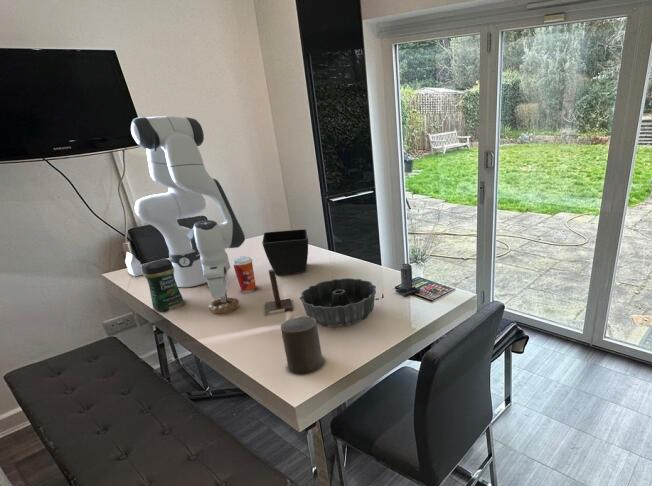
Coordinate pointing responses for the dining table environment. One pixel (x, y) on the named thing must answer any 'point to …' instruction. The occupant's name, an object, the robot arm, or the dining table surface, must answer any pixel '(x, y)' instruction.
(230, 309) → the ring
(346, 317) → the bundt pan
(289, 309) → the post
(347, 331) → the dining table surface
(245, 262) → the paper cup
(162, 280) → the coffee jar
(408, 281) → the grey tower model
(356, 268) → the dining table surface
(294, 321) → the pillar candle
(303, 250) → the flower pot
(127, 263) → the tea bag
